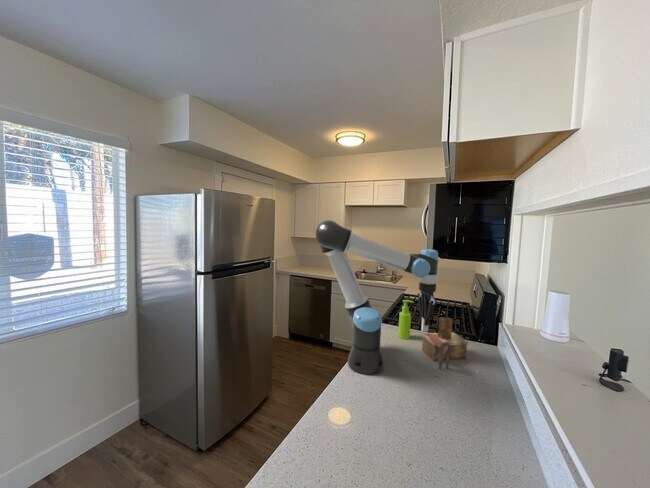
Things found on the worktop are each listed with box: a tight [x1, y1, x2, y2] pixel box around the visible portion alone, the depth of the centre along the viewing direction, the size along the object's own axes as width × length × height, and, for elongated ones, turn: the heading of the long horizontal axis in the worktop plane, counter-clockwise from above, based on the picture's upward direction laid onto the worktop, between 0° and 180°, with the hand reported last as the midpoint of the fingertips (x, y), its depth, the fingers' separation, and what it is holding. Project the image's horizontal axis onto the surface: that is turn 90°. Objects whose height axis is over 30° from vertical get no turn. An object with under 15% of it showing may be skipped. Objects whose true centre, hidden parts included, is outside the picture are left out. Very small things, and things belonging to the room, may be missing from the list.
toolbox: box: [421, 336, 468, 371], centre depth 124 cm, size 18×17×12 cm
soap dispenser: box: [397, 299, 415, 340], centre depth 145 cm, size 6×7×20 cm
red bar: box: [429, 335, 448, 350], centre depth 120 cm, size 2×11×2 cm, turn 10°
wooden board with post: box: [421, 317, 469, 346], centre depth 127 cm, size 17×11×11 cm, turn 100°
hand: (424, 330), depth 130 cm, fingers closed
